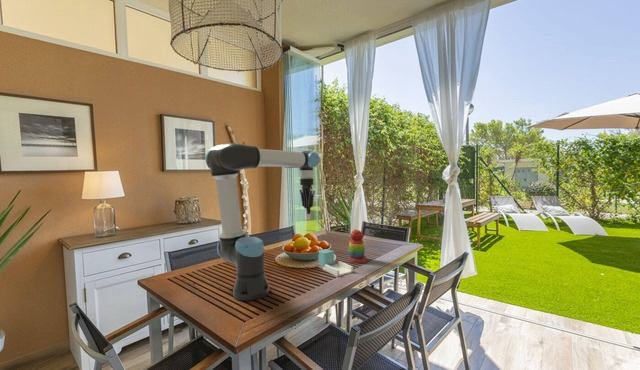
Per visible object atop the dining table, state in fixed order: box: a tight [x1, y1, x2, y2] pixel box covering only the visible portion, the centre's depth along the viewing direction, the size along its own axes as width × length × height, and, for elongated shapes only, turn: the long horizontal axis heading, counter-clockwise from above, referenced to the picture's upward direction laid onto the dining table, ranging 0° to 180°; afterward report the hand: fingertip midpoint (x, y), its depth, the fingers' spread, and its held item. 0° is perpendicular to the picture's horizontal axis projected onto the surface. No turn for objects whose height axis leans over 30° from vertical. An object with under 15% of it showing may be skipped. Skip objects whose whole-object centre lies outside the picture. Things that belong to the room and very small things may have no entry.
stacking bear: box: [347, 228, 367, 265], centre depth 163 cm, size 11×10×18 cm
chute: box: [317, 260, 354, 277], centre depth 151 cm, size 10×20×3 cm, turn 33°
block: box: [317, 248, 335, 266], centre depth 156 cm, size 6×6×7 cm
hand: (307, 219), depth 163 cm, fingers closed
